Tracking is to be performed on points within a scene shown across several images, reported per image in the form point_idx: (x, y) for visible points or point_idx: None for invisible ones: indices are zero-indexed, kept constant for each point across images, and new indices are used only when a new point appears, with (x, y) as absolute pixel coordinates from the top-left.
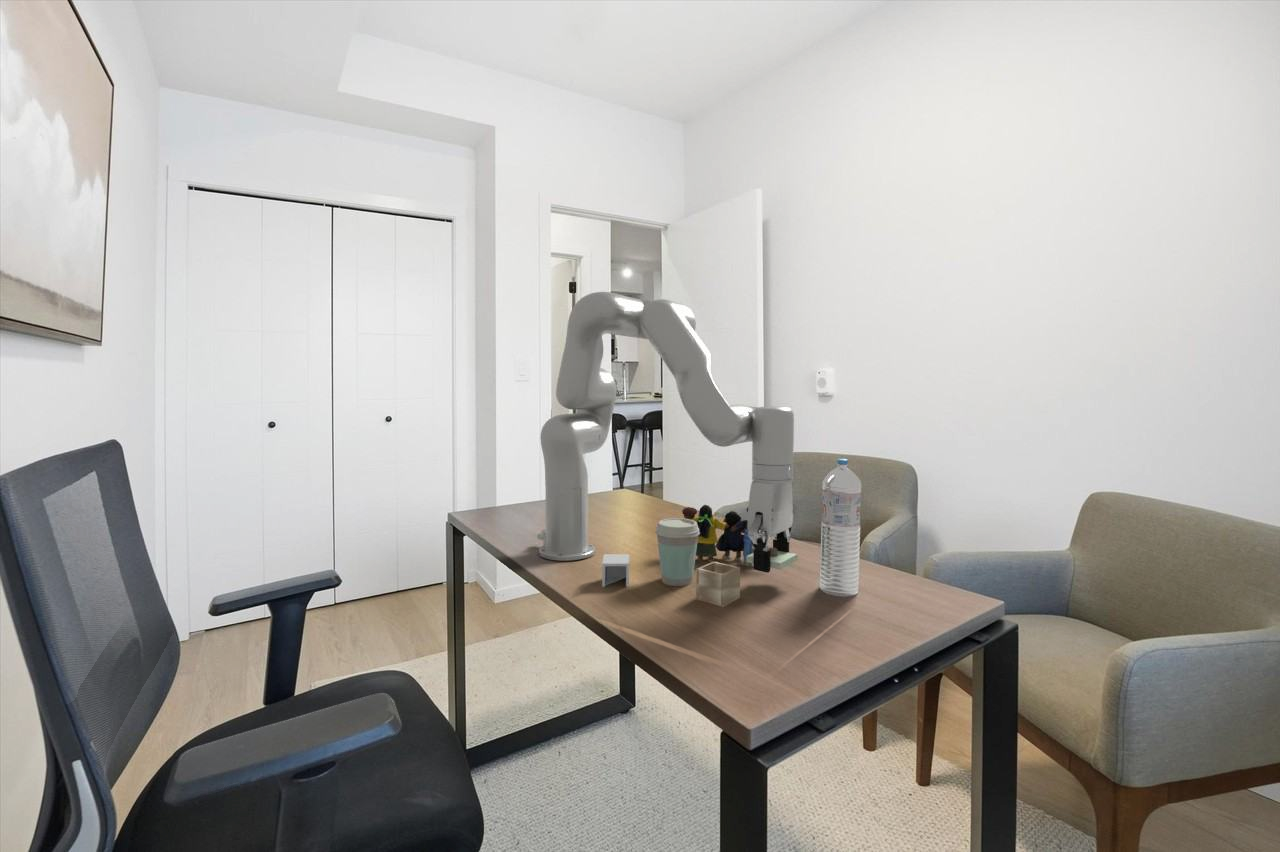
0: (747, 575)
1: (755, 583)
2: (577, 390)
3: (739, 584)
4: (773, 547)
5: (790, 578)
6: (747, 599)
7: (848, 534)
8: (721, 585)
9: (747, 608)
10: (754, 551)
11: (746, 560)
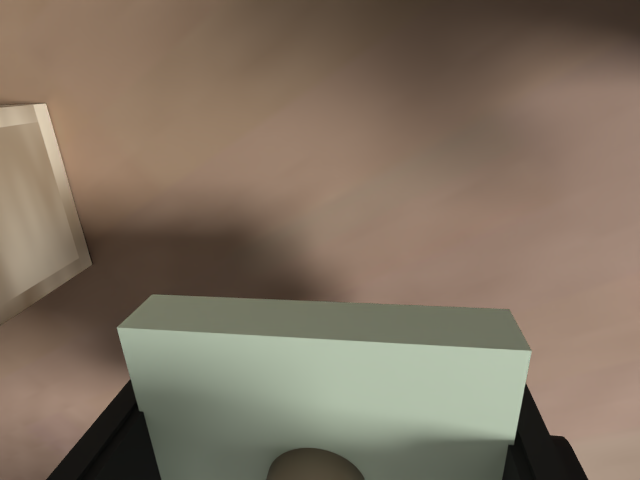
0: (484, 80)
1: (362, 208)
2: None
3: (21, 307)
4: (518, 472)
5: (584, 326)
6: (131, 285)
7: None
8: None
9: (57, 327)
10: (60, 474)
11: (142, 305)
